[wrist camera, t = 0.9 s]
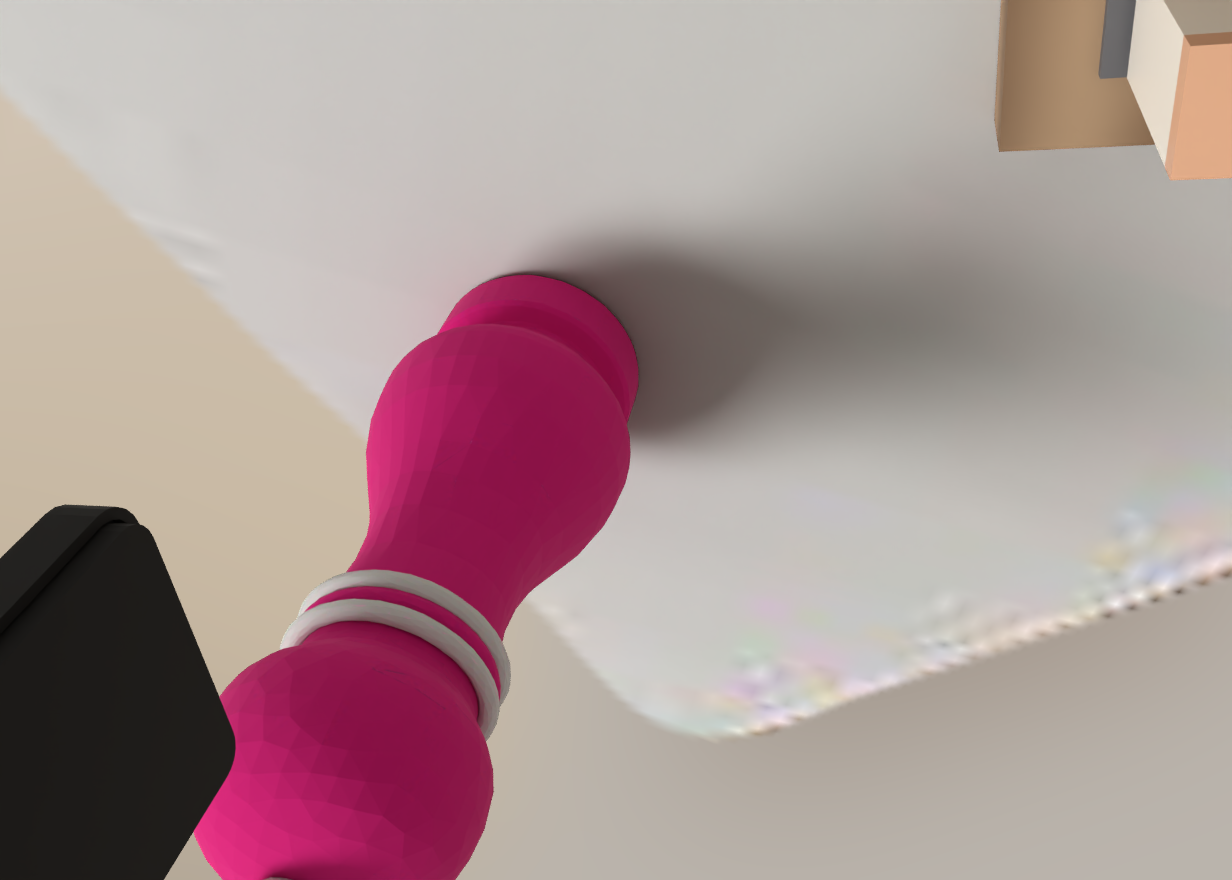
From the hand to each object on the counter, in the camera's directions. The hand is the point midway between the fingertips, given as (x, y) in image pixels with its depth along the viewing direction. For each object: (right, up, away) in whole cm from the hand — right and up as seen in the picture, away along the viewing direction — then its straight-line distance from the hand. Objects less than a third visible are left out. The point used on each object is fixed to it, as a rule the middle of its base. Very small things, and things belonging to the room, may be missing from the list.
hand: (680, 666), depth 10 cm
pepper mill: (-3, +4, +27) cm, 27 cm away
